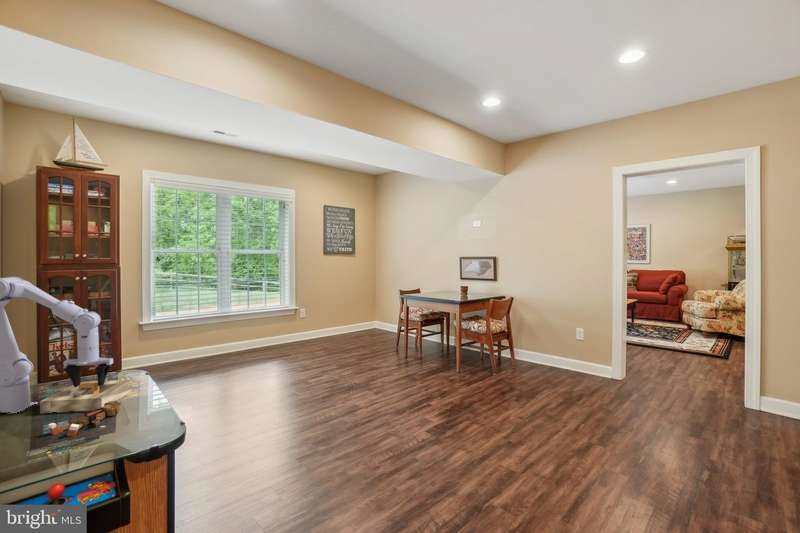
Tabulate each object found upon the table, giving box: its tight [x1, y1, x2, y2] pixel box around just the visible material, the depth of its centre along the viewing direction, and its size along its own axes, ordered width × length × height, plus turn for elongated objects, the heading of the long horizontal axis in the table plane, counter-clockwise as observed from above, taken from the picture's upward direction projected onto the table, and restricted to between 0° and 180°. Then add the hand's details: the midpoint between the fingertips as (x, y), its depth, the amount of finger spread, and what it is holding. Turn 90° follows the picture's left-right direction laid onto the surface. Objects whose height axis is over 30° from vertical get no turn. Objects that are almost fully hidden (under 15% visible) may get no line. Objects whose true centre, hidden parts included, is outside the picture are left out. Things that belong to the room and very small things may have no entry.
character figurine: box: [48, 401, 122, 437], centre depth 114 cm, size 10×18×4 cm, turn 168°
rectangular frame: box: [39, 379, 133, 414], centre depth 131 cm, size 18×18×5 cm
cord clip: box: [79, 381, 99, 395], centre depth 130 cm, size 5×3×5 cm, turn 99°
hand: (89, 385), depth 131 cm, fingers open, 7 cm apart
